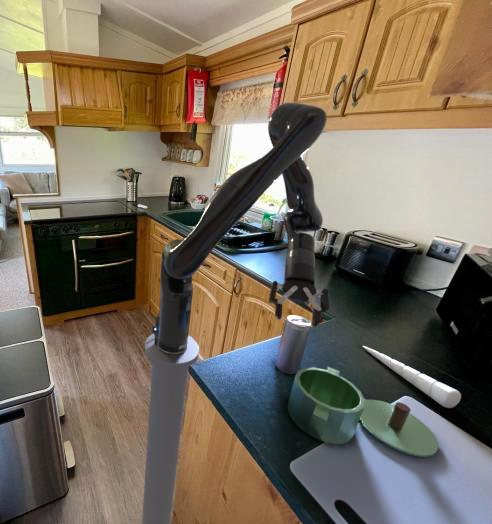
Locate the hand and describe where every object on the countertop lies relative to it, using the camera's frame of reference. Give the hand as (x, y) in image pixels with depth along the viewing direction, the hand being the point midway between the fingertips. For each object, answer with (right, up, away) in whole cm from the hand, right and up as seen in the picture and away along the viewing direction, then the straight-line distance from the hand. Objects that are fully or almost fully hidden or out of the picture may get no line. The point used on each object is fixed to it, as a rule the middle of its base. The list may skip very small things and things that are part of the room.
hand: (296, 322), depth 76 cm
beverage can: (-1, -13, +3) cm, 14 cm away
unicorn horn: (+30, -15, +2) cm, 34 cm away
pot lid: (+13, -20, -14) cm, 28 cm away
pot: (-2, -19, -12) cm, 22 cm away
